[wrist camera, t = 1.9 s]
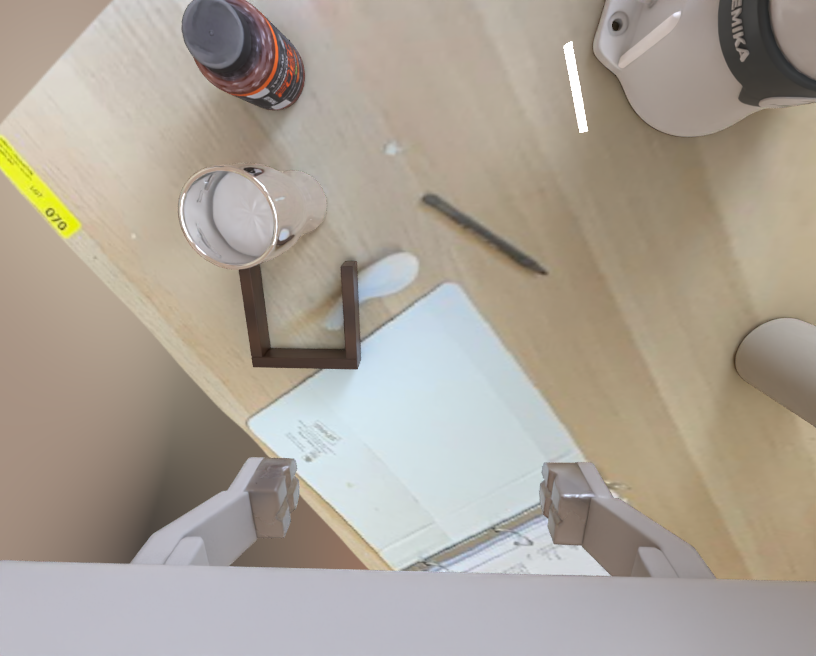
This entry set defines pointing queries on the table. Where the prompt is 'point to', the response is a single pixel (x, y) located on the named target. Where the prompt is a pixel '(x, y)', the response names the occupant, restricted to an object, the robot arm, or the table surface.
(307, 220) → the beer glass
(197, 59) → the supplement bottle
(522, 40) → the table surface
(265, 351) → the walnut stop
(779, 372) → the travel mug
